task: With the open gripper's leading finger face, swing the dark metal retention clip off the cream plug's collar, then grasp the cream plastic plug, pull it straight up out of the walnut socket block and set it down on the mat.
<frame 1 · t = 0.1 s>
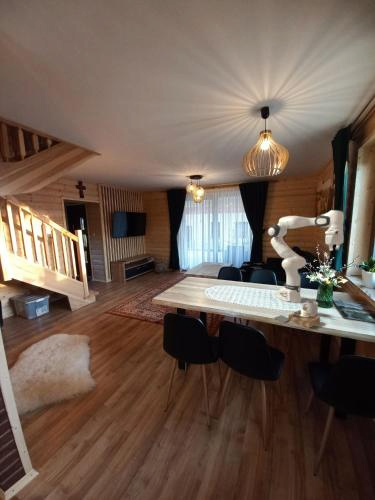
hand: (334, 250, 151), 48 cm above the table, fingers open, 8 cm apart
socket block: (303, 321, 140), on the table
mat: (282, 319, 144), on the table
plug: (303, 321, 140), resting in socket block
cup: (309, 313, 153), on the table
clip: (299, 310, 142), point 7 cm above the table, hinge at 0.0°
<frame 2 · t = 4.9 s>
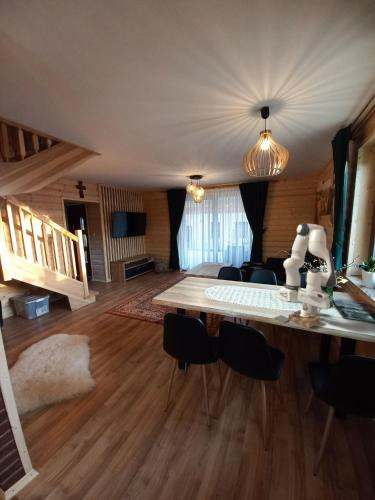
hand: (312, 311, 141), 7 cm above the table, fingers open, 6 cm apart
clip: (299, 310, 142), point 7 cm above the table, hinge at 0.8°, touching gripper
everything else where it was.
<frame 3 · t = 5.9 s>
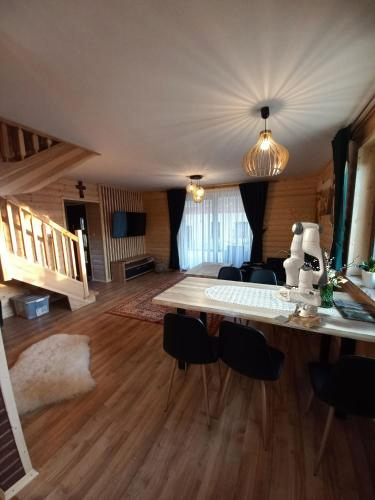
hand: (304, 308, 145), 7 cm above the table, fingers open, 5 cm apart
clip: (296, 309, 144), point 7 cm above the table, hinge at 22.4°, touching gripper
everything else where it was.
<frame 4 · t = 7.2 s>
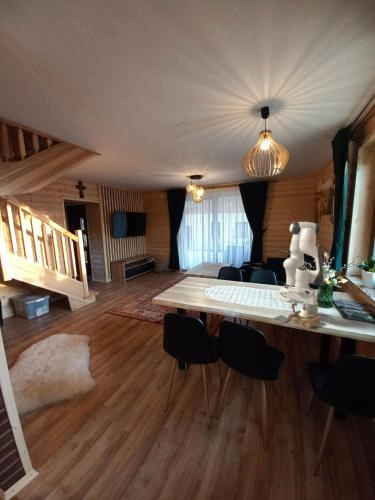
hand: (300, 307, 148), 7 cm above the table, fingers open, 6 cm apart
clip: (293, 309, 145), point 7 cm above the table, hinge at 36.1°, touching gripper
everything else where it was.
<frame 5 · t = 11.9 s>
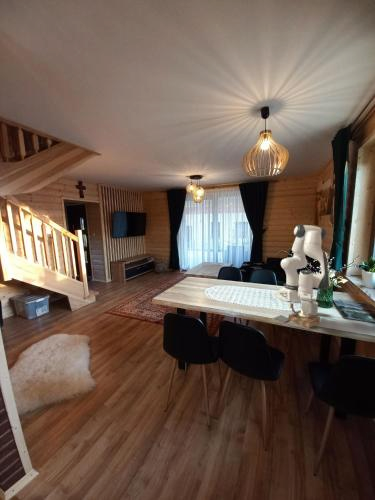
hand: (304, 313, 140), 6 cm above the table, fingers closed on plug, 4 cm apart
plug: (303, 321, 140), resting in socket block, touching gripper
clip: (293, 308, 145), point 7 cm above the table, hinge at 39.9°
everything else where it was.
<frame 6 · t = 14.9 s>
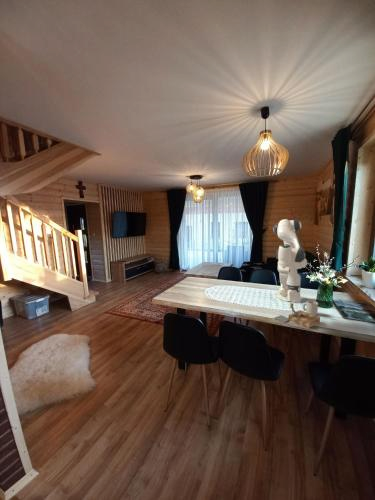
hand: (283, 287, 142), 24 cm above the table, fingers closed on plug, 4 cm apart
plug: (284, 295, 142), point 18 cm above the table, touching gripper
everything else where it was.
when the fingers open (7 cm above the table, at t = 18.2 s): plug stays where it is, resting on mat.
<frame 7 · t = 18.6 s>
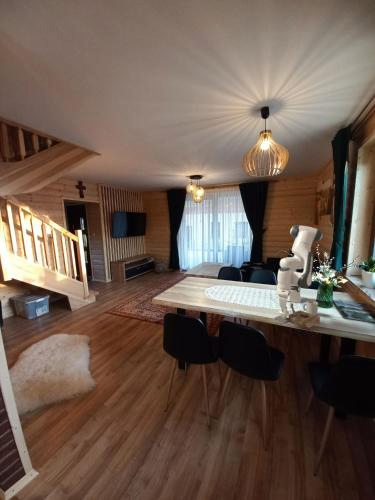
hand: (283, 309, 143), 7 cm above the table, fingers open, 8 cm apart
plug: (283, 318, 144), point 1 cm above the table, touching mat
everything else where it was.
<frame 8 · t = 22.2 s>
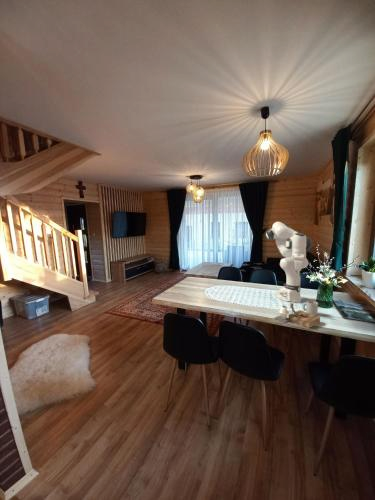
hand: (297, 274, 147), 31 cm above the table, fingers open, 8 cm apart
nothing on the table moved.
at the end: clip at +40° (first picture: +0°); plug inside the target area on the mat (0.6 cm from its centre), point 0.6 cm above the mat's base; plug tilted 1° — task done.
